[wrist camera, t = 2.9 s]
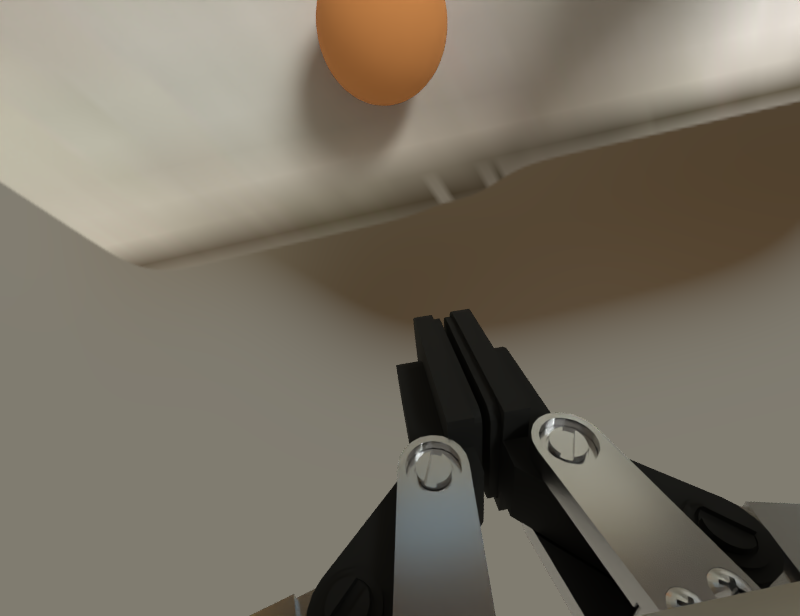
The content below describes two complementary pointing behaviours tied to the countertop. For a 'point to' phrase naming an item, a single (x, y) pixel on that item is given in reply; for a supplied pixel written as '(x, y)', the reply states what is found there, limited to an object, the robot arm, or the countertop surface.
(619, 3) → the countertop surface
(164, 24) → the countertop surface
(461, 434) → the robot arm
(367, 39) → the ball
